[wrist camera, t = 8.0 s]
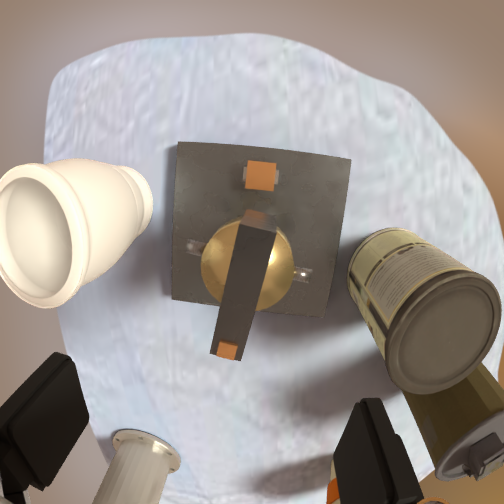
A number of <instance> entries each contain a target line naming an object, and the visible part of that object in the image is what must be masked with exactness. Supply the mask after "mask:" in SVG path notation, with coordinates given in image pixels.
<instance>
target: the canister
mask: <svg viewBox="0 0 504 504" xmlns="http://www.w3.org/2000/svg"><path fill="white" fill-rule="evenodd" d="M401 390H402V389H401ZM402 392H403V394H404V396H405V398H406V401H407V403H408V405H409V407H410V410H411V412H412V414H413V416H414V419H415V421H416V423H417V426H418V428H419V430H420V433H421V435H422V437H423V440H424V442H425V445H426V447H427V449H428V452H429V454H430V457H431V459H432V462H433V464H434V467H435V476H436V478H438V479H439V480H442V481H451V480H455V479H459V478H463V477H465V476H468V475H469V477H472V476H474V477H475V479H476V481H479V480H480V479H482V478H484V477H486V476H487V475H489V474H490V473H492V472H494V471H495V470H497V469H498V468H500V467H502V466H503V464H504V390H503V388H502V387H501V386H500V385H499V383H498V382H497V381H496V380H495V378H494V377H493V376H492V375H491V373H490V372H489V371H488V370H487V368H486V367H485V366H484V365H483V363H482V362H481V363H480V364H479V365H478V366H477V367H476V368H475V369H474V370H473V371H472V372H471V373H470V374H469V375H468V376H467V377H465V378H464V379H463V380H461V381H460V382H458V383H457V384H455V385H453V386H451V387H449V388H447V389H445V390H442V391H439V392H436V393H432V394H424V395H419V394H412V393H409V392H406V391H404V390H402Z"/></svg>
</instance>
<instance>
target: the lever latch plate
mask: <svg viewBox="0 0 504 504" xmlns="http://www.w3.org/2000/svg"><path fill="white" fill-rule="evenodd" d="M350 167H351V159H346V158H340V157H333V156H327V155H320V154H314V153H306V152H299V151H291V150H283V149H274V148H265V147H255V146H244V145H231V144H217V143H200V142H178V147H177V160H176V174H175V190H174V209H173V236H172V299H173V300H179V301H186V302H193V303H200V304H207V305H214V306H220V305H221V303H220V302H219V301H218V300H216V299H215V298H214V297H213V296H212V295H211V293H210V292H209V291H208V289H207V287H206V286H205V283H204V281H203V278H202V274H201V258H202V257H201V256H197V255H193V254H190V253H186V252H185V249H186V244H187V241H188V239H193V240H197V241H201V242H205V243H208V242H209V241H210V239H211V238H212V237H213V235H214V234H215V233H216V232H217V230H218V229H219V228H220V227H221V226H222V225H224V224H225V223H227V222H228V221H230V220H232V219H235V218H239V217H243V216H244V214H245V212H246V210H247V209H250V210H254V211H258V212H262V213H266V214H270V215H274V216H276V226H277V227H279V228H280V229H281V230H282V232H283V233H284V234H285V236H286V237H287V239H288V241H289V243H290V246H291V251H292V256H293V261H294V265H296V266H300V267H304V268H308V269H312V277H311V280H310V282H309V283H305V282H301V281H297V280H293V281H292V283H291V286H290V288H289V290H288V291H287V293H286V294H285V295H284V296H283V297H282V298H281V300H279V301H278V302H277V303H275V304H274V305H272V306H270V307H268V308H266V309H263V310H259V311H263V312H272V313H282V314H292V315H302V316H313V317H325V312H326V308H327V303H328V298H329V294H330V289H331V284H332V279H333V274H334V269H335V263H336V258H337V252H338V247H339V241H340V235H341V229H342V223H343V217H344V211H345V204H346V197H347V190H348V183H349V175H350Z"/></svg>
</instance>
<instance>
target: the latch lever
mask: <svg viewBox="0 0 504 504" xmlns="http://www.w3.org/2000/svg"><path fill="white" fill-rule="evenodd" d="M185 252H186V253H190V254H193V255H197V256H201V257H202V258H201V274H202V278H203V281H204V283H205V286H206V287H207V289H208V291H209V292H210V293H211V295H212V296H213V297H214V298H215V299H216V300H218V301H219V302H220V303H221V305H220V309H219V314H218V318H217V323H216V327H215V332H214V336H213V341H212V345H211V350H210V354H213V355H216V356H218V357H222V358H226V359H230V360H238V361H241V359H242V355H243V352H244V348H245V345H246V341H247V338H248V334H249V331H250V328H251V324H252V321H253V317H254V313H255V311H259V310H263V309H266V308H268V307H270V306H272V305H274V304H275V303H277V302H278V301H279V300H281V298H282V297H283V296H284V295H285V294H286V293H287V291H288V290H289V288H290V286H291V283H292V281H293V280H297V281H301V282H305V283H309V282H310V280H311V277H312V269H308V268H304V267H300V266H296V265H294V261H293V256H292V251H291V246H290V243H289V241H288V239H287V237H286V236H285V234H284V233H283V232H282V230H281V229H280V228H279V227H277V226H276V216H274V215H270V214H266V213H262V212H258V211H254V210H250V209H247V210H246V212H245V214H244V216H243V217H239V218H235V219H232V220H230V221H228V222H227V223H225V224H224V225H222V226H221V227H220V228H219V229H218V230H217V232H216V233H215V234H214V235H213V237H212V238H211V239H210V241H209V242H208V243H205V242H201V241H197V240H193V239H188V241H187V244H186V249H185Z"/></svg>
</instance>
